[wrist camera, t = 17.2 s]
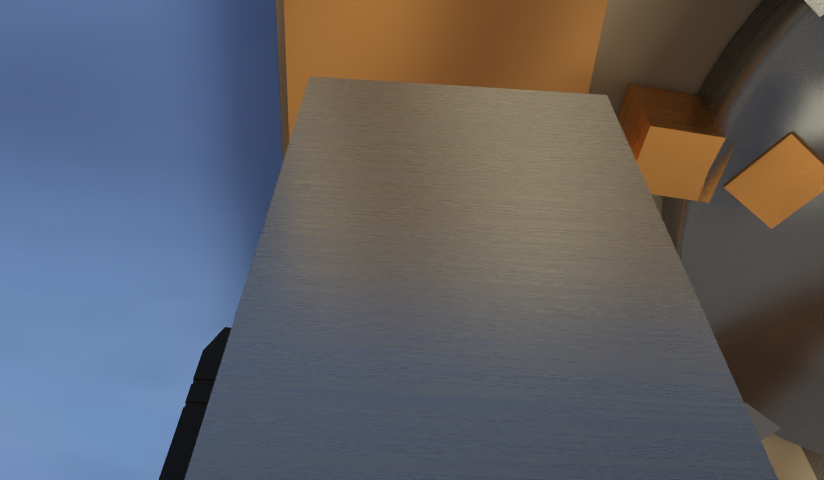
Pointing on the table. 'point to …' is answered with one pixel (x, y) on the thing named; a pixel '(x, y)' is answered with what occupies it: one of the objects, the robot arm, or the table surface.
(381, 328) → the white block orange patch
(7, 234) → the table surface
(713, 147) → the sprocket
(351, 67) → the base plate
